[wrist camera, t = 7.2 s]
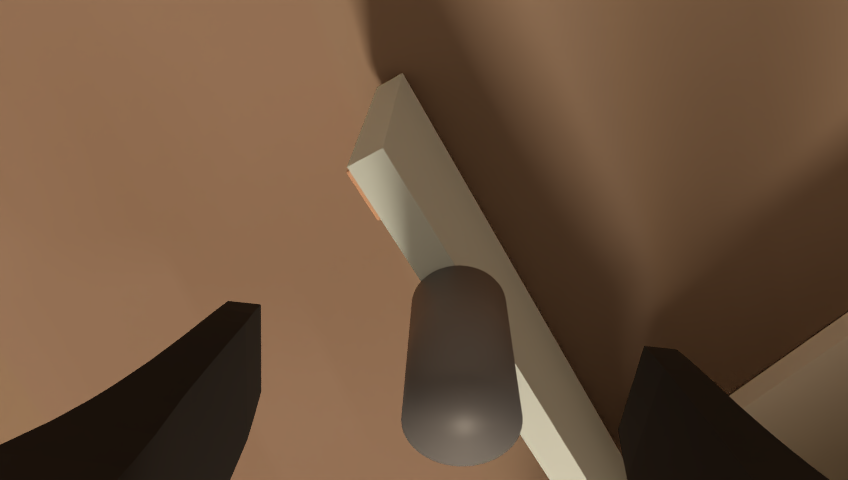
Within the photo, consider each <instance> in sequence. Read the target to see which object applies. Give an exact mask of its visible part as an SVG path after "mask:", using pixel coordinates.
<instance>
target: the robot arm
mask: <svg viewBox="0 0 848 480" xmlns="http://www.w3.org/2000/svg"><path fill="white" fill-rule="evenodd" d="M260 394H261V305H260V304H251V303H241V302H232V301H228V302H226V303H225V304H224V305H222V306H221V307H220V308H218V309H217V310H216V311H214V312H213V313H212V314H210V315H209V316H208V317H207V318H205V319H204V320H203V321H201V322H200V323H199V324H198V325H196V326H195V327H194V328H193V329H191V330H190V331H189V332H188V333H186V334H185V335H184V336H182V337H181V338H180V339H179V340H177V341H176V342H175V343H173V344H172V345H171V346H169V347H168V348H166V349H165V350H164V351H162V352H161V353H160V354H158V355H157V356H156V357H154V358H153V359H152V360H150V361H149V362H147V363H146V364H144V365H143V366H142V367H140V368H139V369H137V370H136V371H134V372H133V373H131V374H130V375H128V376H127V377H125V378H124V379H122V380H121V381H119V382H118V383H116V384H115V385H113V386H112V387H110V388H108V389H107V390H105V391H104V392H102V393H100V394H99V395H97V396H95V397H94V398H92V399H90V400H88V401H87V402H85V403H83V404H81V405H79V406H78V407H76V408H74V409H72V410H70V411H69V412H67V413H65V414H63V415H61V416H59V417H58V418H56V419H54V420H52V421H50V422H48V423H46V424H44V425H41V426H39V427H37V428H35V429H33V430H31V431H29V432H27V433H24V434H22V435H20V436H18V437H16V438H14V439H12V440H9V441H7V442H5V443H3V444H1V445H0V480H230V479H231V476H232V474H233V472H234V469H235V467H236V465H237V462H238V460H239V458H240V455H241V453H242V451H243V448H244V446H245V444H246V441H247V439H248V435H249V432H250V429H251V425H252V422H253V419H254V415H255V412H256V408H257V404H258V401H259V397H260ZM618 431H619V437H620V443H621V449H622V456H623V461H624V466H625V471H626V476H627V480H829V479H828V478H827V477H825V476H824V475H823V474H821V473H820V472H819V471H817V470H816V469H815V468H813V467H812V466H811V465H809V464H808V463H807V462H806V461H804V460H803V459H802V458H801V457H799V456H798V455H797V454H796V453H795V452H793V451H792V450H791V449H790V448H788V447H787V446H786V445H785V444H783V443H782V442H781V441H780V440H778V439H777V438H776V437H775V436H774V435H773V434H771V433H770V432H769V431H768V430H767V429H765V428H764V427H763V426H762V425H761V424H760V423H759V422H757V421H756V420H755V419H754V418H753V417H752V416H751V415H749V414H748V413H747V412H746V411H745V410H744V409H743V408H742V407H740V406H739V405H738V404H737V403H736V402H735V401H734V400H733V399H732V398H731V397H729V396H728V395H727V394H726V393H725V392H724V391H723V390H722V389H721V388H720V387H718V386H717V385H716V384H715V383H714V382H713V381H712V380H711V379H710V378H709V377H708V376H706V375H705V374H704V373H703V372H702V371H701V370H700V369H699V368H698V367H697V366H695V365H694V364H693V363H692V362H691V361H690V360H689V359H687V358H686V357H685V356H684V355H683V354H681V353H680V352H679V351H678V350H675V349H665V348H656V347H647V346H644V349H643V352H642V355H641V358H640V362H639V365H638V368H637V371H636V374H635V378H634V381H633V384H632V387H631V390H630V394H629V397H628V400H627V403H626V406H625V410H624V413H623V416H622V419H621V422H620V426H619V429H618Z"/></svg>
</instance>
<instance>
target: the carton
mask: <svg viewBox="0 0 848 480" xmlns="http://www.w3.org/2000/svg"><path fill="white" fill-rule="evenodd" d="M729 397H731V398H732V399H733V400H734V401H735V402H736V403H737V404H738V405H739V406H740V407H742V408H743V409H744V410H745V411H746V412H747V413H748V414H749V415H751V416H752V417H753V418H754V419H755V420H756V421H757V422H759V423H760V424H761V425H762V426H763V427H764V428H765V429H767V430H768V431H769V432H770V433H771V434H773V435H774V436H775V437H776V438H777V439H778V440H780V441H781V442H782V443H783V444H785V445H786V446H787V447H788V448H790V449H791V450H792V451H793V452H795V453H796V454H797V455H798V456H799V457H801V458H802V459H803V460H804V461H806V462H807V463H808V464H809V465H811V466H812V467H813V468H815V469H816V470H817V471H819V472H820V473H821V474H823V475H824V476H825V477H827V478H828V479H829V480H848V312H847V313H846V314H844V315H843V316H842V317H840V318H839V319H837V320H836V321H835V322H833V323H832V324H830V325H829V326H827V327H826V328H825V329H823V330H822V331H820V332H819V333H817V334H816V335H815V336H813V337H812V338H810V339H809V340H808V341H806V342H805V343H803V344H802V345H800V346H799V347H798V348H796V349H795V350H793V351H792V352H790V353H789V354H788V355H786V356H785V357H783V358H782V359H781V360H779V361H778V362H776V363H775V364H773V365H772V366H771V367H769V368H768V369H766V370H765V371H764V372H762V373H761V374H759V375H758V376H756V377H755V378H754V379H752V380H751V381H749V382H748V383H746V384H745V385H744V386H742V387H741V388H739V389H738V390H737V391H735V392H734V393H732V394H731V395H729Z"/></svg>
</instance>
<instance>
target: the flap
mask: <svg viewBox="0 0 848 480" xmlns="http://www.w3.org/2000/svg"><path fill="white" fill-rule="evenodd" d="M347 168H348V170H347V174H348V176H349V177H350V179H351V180H352V182H353V183H354V185H355V186H356V188H357V189H358V191H359V193H360V194H361V196H362V197H363V199H364V200H365V202H366V203H367V205H368V206H369V208H370V209H371V211H372V213H373V214H374V216H375V217H376V219H377V220H380V219H381V220H382V222H383V223H384V225H385V227H386V228H387V230H388V231H389V233H390V234H391V236H392V237H393V239H394V240H395V242H396V243H397V245H398V247H399V248H400V250H401V251H402V253H403V254H404V256H405V257H406V259H407V260H408V262H409V264H410V265H411V267H412V268H413V270H414V271H415V273H416V274H417V276H418V277H419V279H420V281H421V282H420V284H419V285H418V286H417V288H416V290H415V292H414V295H413V299H412V307H411V318H410V329H409V340H408V351H407V362H406V373H405V384H404V395H403V406H402V418H401V421H402V428H403V432H404V434H405V436H406V438H407V440H408V441H409V443H410V444H411V445H412V446H413V448H415V449H416V450H417V451H418V452H419V453H421V454H422V455H423V456H425V457H427V458H429V459H431V460H433V461H436V462H438V463H442V464H446V465H451V466H473V465H479V464H483V463H486V462H489V461H491V460H494V459H496V458H498V457H499V456H501V455H503V454H504V453H505V452H507V451H508V450H509V449H510V448H511V447H512V446H513V444H514V443H515V442H516V440H517V439H518V437H519V435H521V436H522V438H523V439H524V441H525V443H526V444H527V446H528V447H529V449H530V450H531V452H532V453H533V455H534V456H535V458H536V460H537V461H538V463H539V464H540V466H541V467H542V469H543V470H544V472H545V473H546V475H547V476H548V478H549V480H627V476H626V471H625V466H624V461H623V458H622V455H621V453H620V452H619V450H618V448H617V446H616V445H615V443H614V441H613V439H612V438H611V436H610V434H609V432H608V431H607V429H606V427H605V425H604V424H603V422H602V420H601V418H600V417H599V415H598V413H597V412H596V410H595V408H594V406H593V405H592V403H591V401H590V399H589V398H588V396H587V394H586V392H585V391H584V389H583V387H582V385H581V384H580V382H579V380H578V378H577V377H576V375H575V373H574V371H573V370H572V368H571V366H570V364H569V363H568V361H567V359H566V357H565V356H564V354H563V352H562V350H561V349H560V347H559V345H558V343H557V342H556V340H555V338H554V336H553V335H552V333H551V331H550V329H549V328H548V326H547V324H546V322H545V321H544V319H543V317H542V315H541V314H540V312H539V310H538V308H537V307H536V305H535V303H534V302H533V300H532V298H531V296H530V295H529V293H528V291H527V289H526V288H525V286H524V284H523V282H522V281H521V279H520V277H519V275H518V274H517V272H516V270H515V268H514V267H513V265H512V263H511V261H510V260H509V258H508V256H507V254H506V253H505V251H504V249H503V247H502V246H501V244H500V242H499V240H498V239H497V237H496V235H495V233H494V232H493V230H492V228H491V226H490V225H489V223H488V221H487V219H486V218H485V216H484V214H483V212H482V211H481V209H480V207H479V205H478V204H477V202H476V200H475V199H474V197H473V195H472V193H471V192H470V190H469V188H468V186H467V185H466V183H465V181H464V179H463V178H462V176H461V174H460V172H459V171H458V169H457V167H456V165H455V164H454V162H453V160H452V158H451V157H450V155H449V153H448V151H447V150H446V148H445V146H444V144H443V143H442V141H441V139H440V137H439V136H438V134H437V132H436V130H435V129H434V127H433V125H432V123H431V122H430V120H429V118H428V116H427V115H426V113H425V111H424V109H423V108H422V106H421V104H420V102H419V101H418V99H417V97H416V95H415V94H414V92H413V90H412V89H411V87H410V85H409V83H408V82H407V80H406V78H405V76H404V75H403V73H401V74H400V75H398V76H396V77H394V78H392V79H391V80H389V81H387V82H385V83H384V84H382V85H380V86H378V87H377V89H376V92H375V94H374V97H373V100H372V102H371V105H370V107H369V110H368V113H367V115H366V118H365V121H364V123H363V126H362V129H361V131H360V134H359V137H358V139H357V142H356V145H355V147H354V150H353V152H352V155H351V158H350V160H349V163H348V166H347Z"/></svg>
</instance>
